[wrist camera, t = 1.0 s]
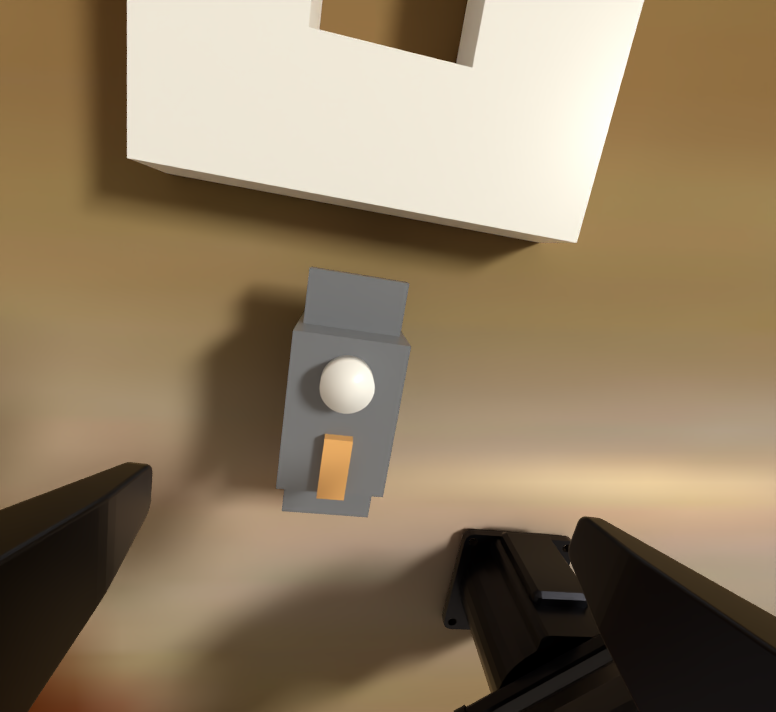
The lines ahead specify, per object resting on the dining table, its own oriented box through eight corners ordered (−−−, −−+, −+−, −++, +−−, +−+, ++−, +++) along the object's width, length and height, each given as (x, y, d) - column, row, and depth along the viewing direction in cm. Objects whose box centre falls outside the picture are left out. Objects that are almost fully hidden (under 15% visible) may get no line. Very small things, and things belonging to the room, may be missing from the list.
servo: (367, 471, 21) (376, 556, 15) (288, 464, 20) (267, 549, 14) (401, 276, 18) (426, 291, 12) (311, 262, 17) (296, 270, 12)
